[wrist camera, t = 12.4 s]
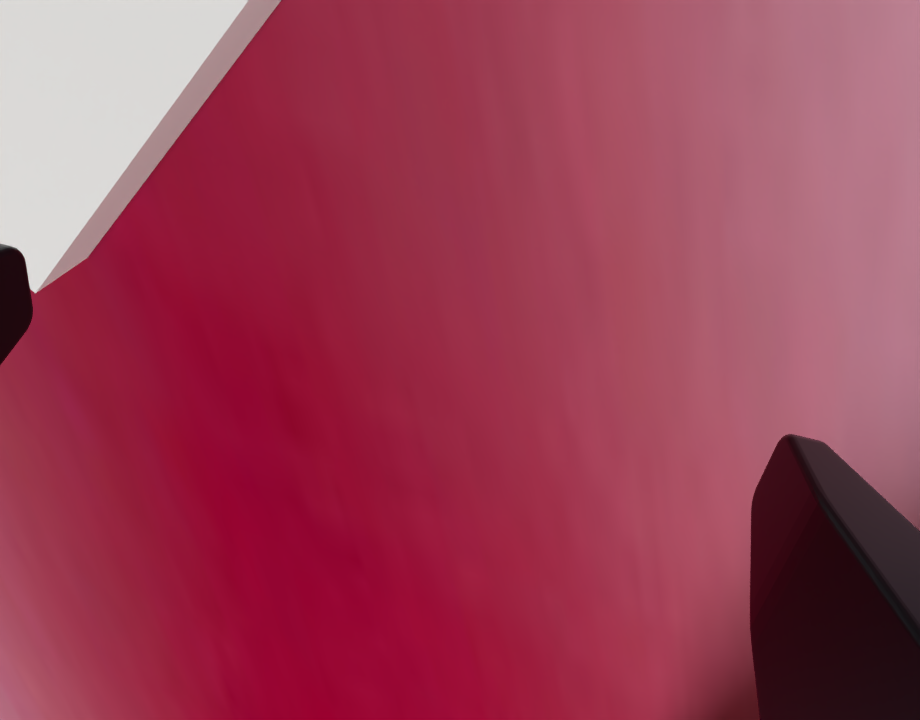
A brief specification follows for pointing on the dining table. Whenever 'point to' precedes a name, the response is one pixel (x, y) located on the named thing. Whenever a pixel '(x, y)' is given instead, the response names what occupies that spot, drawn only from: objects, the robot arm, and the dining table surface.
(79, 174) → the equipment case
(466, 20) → the dining table surface
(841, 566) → the robot arm
